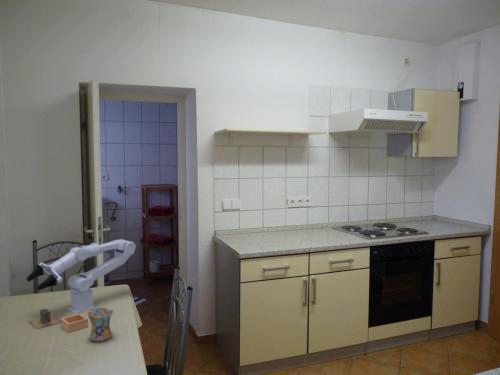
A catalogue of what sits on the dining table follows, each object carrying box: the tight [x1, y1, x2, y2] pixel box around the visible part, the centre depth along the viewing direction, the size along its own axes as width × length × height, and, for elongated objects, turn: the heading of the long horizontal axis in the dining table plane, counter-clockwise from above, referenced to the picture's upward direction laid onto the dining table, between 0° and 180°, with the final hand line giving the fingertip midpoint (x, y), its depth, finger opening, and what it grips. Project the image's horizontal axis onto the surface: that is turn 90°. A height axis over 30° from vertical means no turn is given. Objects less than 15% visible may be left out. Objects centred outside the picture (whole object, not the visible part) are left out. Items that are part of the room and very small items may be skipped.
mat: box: [27, 321, 61, 331], centre depth 171 cm, size 11×11×1 cm
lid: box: [28, 308, 61, 330], centre depth 171 cm, size 10×10×5 cm
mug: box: [87, 307, 114, 342], centre depth 159 cm, size 12×9×11 cm
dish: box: [60, 313, 89, 334], centre depth 167 cm, size 8×8×4 cm
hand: (32, 284), depth 170 cm, fingers open, 7 cm apart
